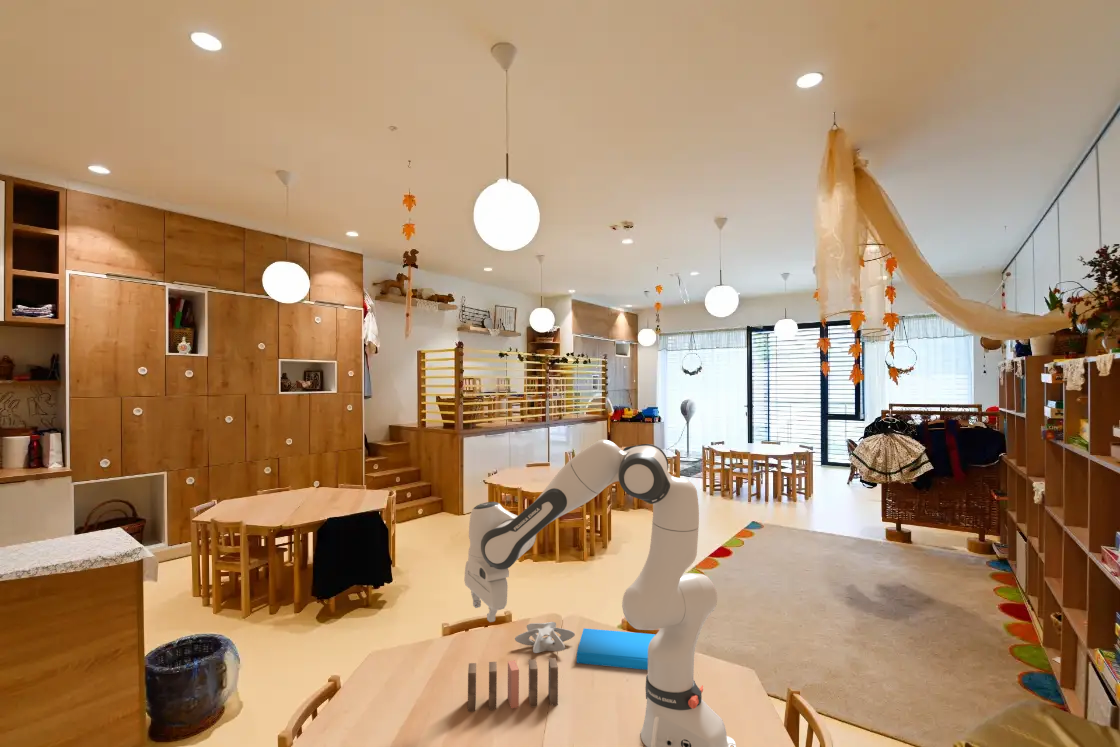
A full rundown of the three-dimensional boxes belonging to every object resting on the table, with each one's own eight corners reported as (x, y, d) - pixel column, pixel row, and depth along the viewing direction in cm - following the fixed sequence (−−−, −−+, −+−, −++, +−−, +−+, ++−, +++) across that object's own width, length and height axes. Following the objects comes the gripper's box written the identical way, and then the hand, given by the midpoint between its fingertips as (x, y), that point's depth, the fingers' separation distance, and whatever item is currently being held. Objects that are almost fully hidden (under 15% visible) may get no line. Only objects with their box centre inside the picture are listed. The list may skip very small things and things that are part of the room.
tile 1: (475, 699, 148) (476, 662, 148) (475, 710, 143) (475, 672, 143) (468, 700, 148) (468, 663, 148) (467, 711, 143) (468, 673, 143)
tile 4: (535, 695, 150) (536, 659, 150) (537, 706, 145) (537, 668, 145) (528, 696, 150) (528, 659, 150) (529, 706, 145) (530, 669, 145)
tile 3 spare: (514, 696, 149) (514, 660, 150) (518, 707, 145) (518, 669, 145) (507, 698, 149) (507, 661, 149) (511, 708, 144) (511, 670, 144)
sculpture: (512, 636, 185) (512, 617, 186) (569, 632, 189) (569, 613, 189) (517, 662, 168) (517, 641, 168) (580, 656, 172) (580, 636, 172)
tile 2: (496, 698, 149) (496, 661, 149) (496, 709, 144) (496, 671, 144) (488, 698, 149) (489, 662, 149) (488, 709, 144) (489, 671, 144)
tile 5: (555, 694, 151) (555, 657, 151) (557, 704, 146) (557, 667, 146) (548, 694, 151) (548, 658, 151) (550, 705, 146) (550, 667, 146)
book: (583, 628, 184) (657, 633, 180) (583, 641, 184) (657, 646, 180) (576, 652, 167) (658, 658, 163) (576, 667, 167) (658, 673, 163)
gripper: (459, 552, 153) (458, 601, 153) (489, 577, 136) (488, 632, 136) (480, 549, 157) (479, 596, 157) (512, 572, 139) (511, 626, 139)
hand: (483, 613), depth 146 cm, fingers open, 8 cm apart
